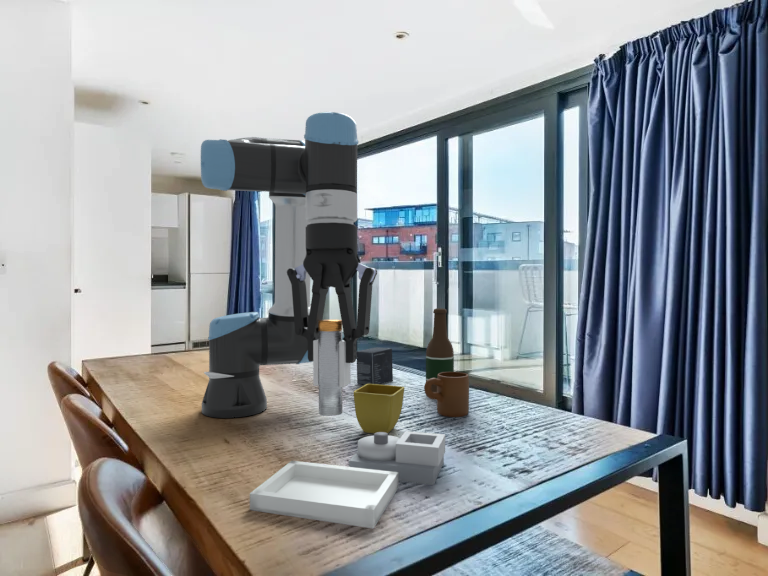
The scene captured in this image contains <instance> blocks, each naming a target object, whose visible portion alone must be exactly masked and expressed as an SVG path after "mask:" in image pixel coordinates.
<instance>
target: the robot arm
mask: <svg viewBox="0 0 768 576" xmlns="http://www.w3.org/2000/svg"><path fill="white" fill-rule="evenodd" d="M304 130H305V131H304V132H305V133H304V135H303V136H304V137H303V138H304V140H300V139H298V140H297V139H281V138H270V137H269V138H268V137H267V138H266V137H256V136H251V137H241V138H235V139H228V140H227V139H205V140H203V141H202V143H201V145H200V178H201V179H200V180H201V184H202V186H204V188H206V189H212V190H219V191H223V192H224V191H225V192H227V191H239V192H240V191H242V192H243V191H245V192H264V193H265V192H268V198H269V200H271V201H272V202H273V204H274V207H275V219H274V221H275V222H274V223H275V230H274V231H275V237H274V238H275V240H274V241H275V243H274V244H275V245H274V246H275V247H274V249H275V250H274V255H275V256H274V303H273V304H272V306H271V307H270V308H268V313H267V315H268V317H261V315H260V314H259V311H251V312H242V313H234V314H233V313H232V314H228V315H222V316H218V317H215V318H213V319H212V320H211V321H210V323H209V325H208V326H209V330H208V338H207V340H208V341H209V342H208V343H209V344H208V348H209V350H208V351H209V353H208V355H209V356H208V358H209V359H208V360H209V361H208V362H209V364H208V368H209V369H208V372H215V373H220V374H226V375H232V376H234V377H226V378H215V379H213V378H209V377H208V378H209V379H208V382H207V385H206V389H205V392H204V395H203V398H202V401H201V414H202V415H204V416H206V417H210V418H216V419H217V418H220V419H231V418H232V419H233V418H234V417H235V418H243V417H248V416H253V415H257V414H259V413H262V411H263V412H264V411H266V410H267V409H268V408H267V407H268V400H267V396H266V393H265V389H264V387H263V383H262V382H261V378H260V366H274V365H275V366H276V365H279V366H280V365H291V364H292V365H300V364H309V363H313V364H312V365H313V367H312V369H313V370H312V371H313V372H312V375H313V376H312V377H313V382H312V385H313V386H316V387H319V341H318V321H319V320H324V314H325V313H324V312H325V308H326V307H325V306H326V300H327V294H328V293H329V288H334V292H335V294H336V295H337V300H338V306H339V313H340V320H341V321H342V334H343V337H342V341H339V387H342V388H346V387H348V386H349V385H350V384H351V378H352V377H351V364H353V363H355V362H357V351H358V350H357V343H358V342H357V341H358V339H359V338H362V337H365V336H368V334H369V333H370V326H371V313H372V312H371V311H372V297H373V284H374V282H375V279H376V278H377V274H378V270H377V269H376V268H375V267H369V266H367V265H364V264H363V263H361V262H362V261H361V259H360V257H359V255H358V227H357V225H355V224H354V223H356V222H357V221H358V145H359V140H358V133H357V130H358V129H357V122H356V120H355V119H354V118H353V117H352V116H350V115H348V114H345V113H342V112H335V111H334V112H333V111H323V112H321V111H320V112H317V113H313V114H312V115H309V116H308V117H307V118H306V120H305V129H304ZM357 272H358V275H357V276H358V280H360V281H359V287H358V288H359V289H358V301H357V314H356V316H355V310H354V306H353V305H354V303H353V299H352V298H353V297H352V285H351V281H352V279H353V278H354V276H356V274H357ZM311 280H312V286H311ZM311 293H312V295H311ZM311 296H312V297H311ZM355 318H356V319H355ZM265 409H266V410H265Z"/></svg>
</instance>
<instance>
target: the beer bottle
mask: <svg viewBox="0 0 768 576" xmlns="http://www.w3.org/2000/svg"><path fill="white" fill-rule="evenodd" d="M432 312H433V314H434V315H433V327H432V328H433V331H432V337H431V339H430V341H429V342H428V344H427V347H426V351H425V382H426V381H427V380H428V379H430V378H437V376H438V373H442V372H455V369H454V368H455V365H454V364H455V359H454V358H455V354H454V353H455V352H454V347H453V343H452V342H451V341H450V339H449V337H448V336H449V335H448V331H447V317H446V316H447V313H448V311H447V309H446V308H434V309H433V311H432ZM431 390H432V392H437V386H436V385H434V384H432V385H431Z"/></svg>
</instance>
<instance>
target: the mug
mask: <svg viewBox="0 0 768 576" xmlns="http://www.w3.org/2000/svg"><path fill="white" fill-rule="evenodd" d="M469 377H470V376H469V373H466V372H463V371H462V372H460V371H454V372H442V373H438V376H437V378H430V379H428V380H427V381H426V380H425V383H424V386H423V388H424V390H423V391H424V393H425V395H426V397H428V398H429V399H430V400H436V411H437V413H438V414H439V415H440V416H443V417H448V418H460V417H461V418H462V417H465V416H467V415H468V414H469V412H470V410H469V409H470V401H469V400H470V379H469ZM432 384H434V385H436V386H437V392H432V390H431V385H432Z"/></svg>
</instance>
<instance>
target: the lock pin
mask: <svg viewBox="0 0 768 576" xmlns="http://www.w3.org/2000/svg"><path fill="white" fill-rule="evenodd" d="M342 340H343V327H342V321H341V319H323V320H319V321H318V341H319V386H318V414H319V415H320V416H323V417H335V416H339V415H342V414H343V387H339V341H342Z"/></svg>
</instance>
